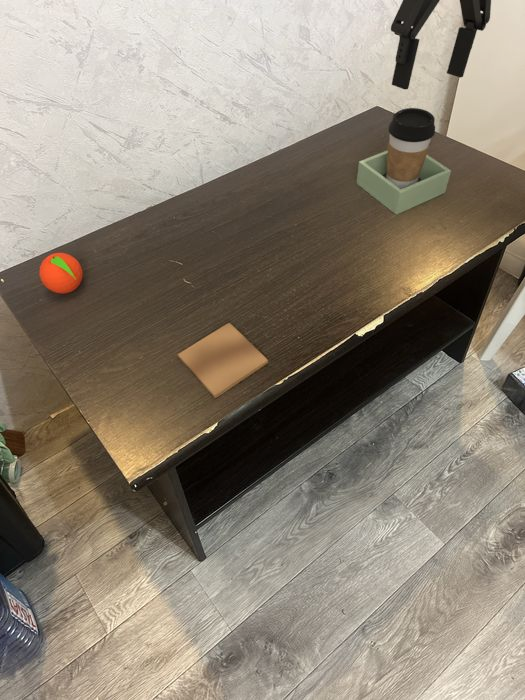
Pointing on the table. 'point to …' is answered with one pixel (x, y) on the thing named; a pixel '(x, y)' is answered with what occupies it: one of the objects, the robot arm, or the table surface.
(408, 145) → the coffee cup
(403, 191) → the holder
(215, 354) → the trivet
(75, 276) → the clementine
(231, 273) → the table surface
